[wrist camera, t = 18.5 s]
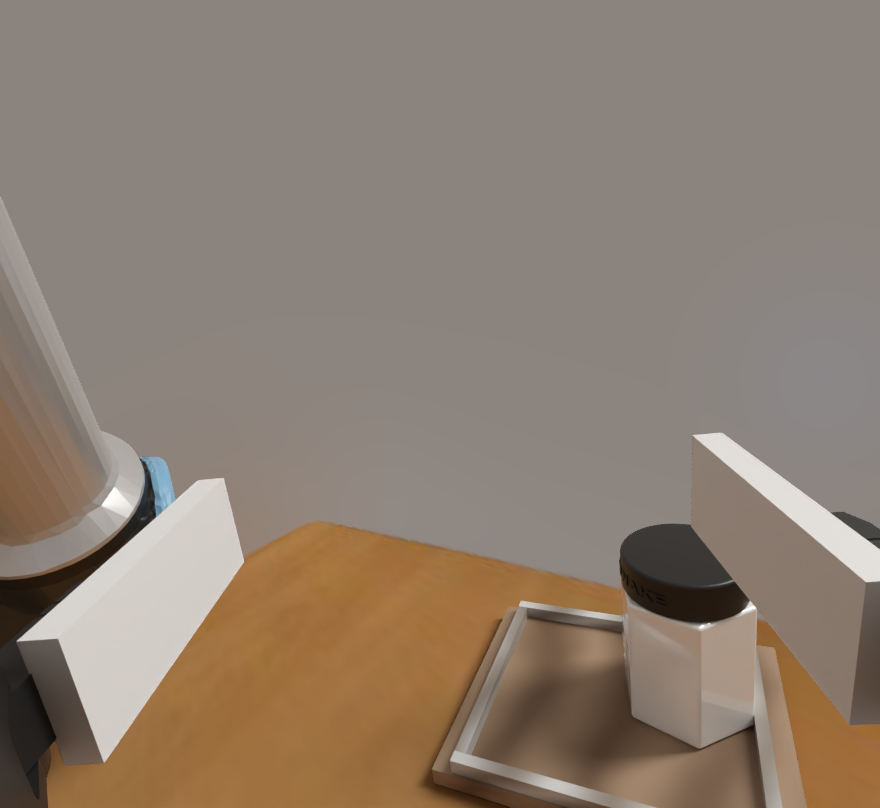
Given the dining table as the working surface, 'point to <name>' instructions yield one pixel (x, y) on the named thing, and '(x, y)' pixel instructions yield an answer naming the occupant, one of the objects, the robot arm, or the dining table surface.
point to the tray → (602, 728)
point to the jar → (686, 637)
